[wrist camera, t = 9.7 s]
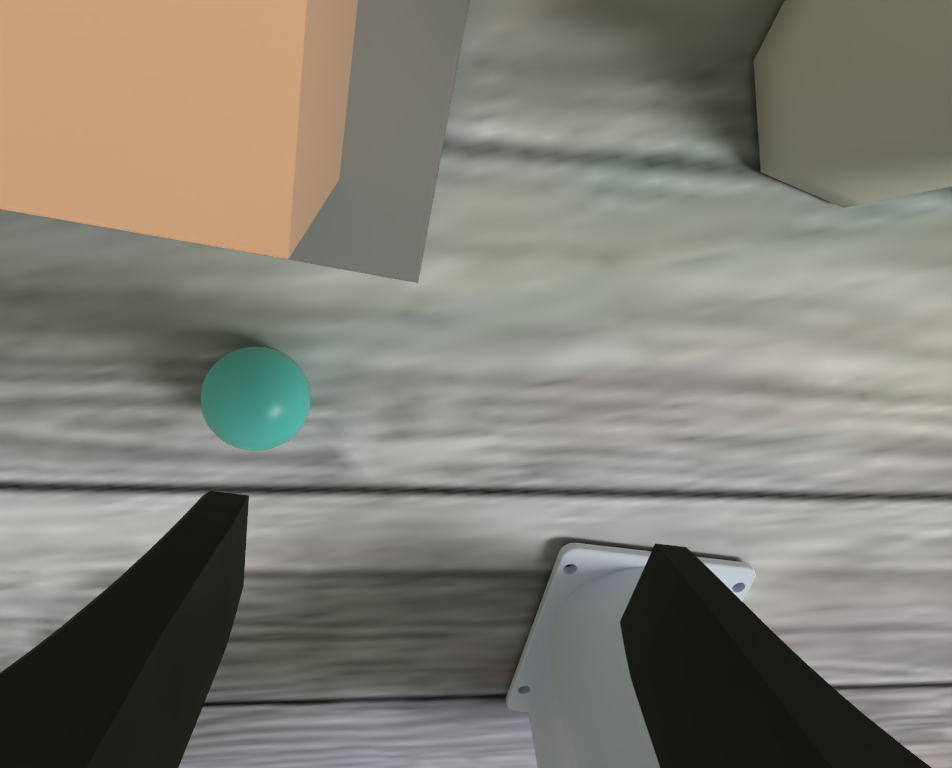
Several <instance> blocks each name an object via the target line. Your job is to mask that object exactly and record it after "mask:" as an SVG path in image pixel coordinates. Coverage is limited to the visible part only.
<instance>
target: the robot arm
mask: <svg viewBox="0 0 952 768" xmlns="http://www.w3.org/2000/svg"><path fill="white" fill-rule="evenodd" d="M248 501H249V496H248V495H240V494H231V493H223V492H214V491H210V492H208V493H206V494H205V495H203V496H202V497H201V498H200V499H199V500H198V502H197V503H196V504H195V505H194V506H193V507H192V508H191V509H190V510H189V511H188V512H187V513H186V514H185V515H184V516H183V517H182V518H181V519H180V520H179V521H178V522H177V523H176V524H175V525H174V526H173V527H172V528H171V529H170V530H169V531H168V532H167V533H166V534H165V535H164V536H163V537H162V538H161V539H160V540H159V541H158V542H157V543H156V544H155V545H154V546H153V547H152V548H151V549H150V550H149V551H148V552H147V553H146V554H145V555H143V556H142V557H141V558H140V559H139V560H138V561H137V562H136V563H135V564H134V565H133V566H131V567H130V568H129V569H128V570H127V571H126V572H125V573H124V574H123V575H122V576H121V577H120V578H118V579H117V580H116V581H115V582H114V583H113V584H112V585H111V586H109V587H108V588H107V589H106V590H105V591H104V592H102V593H101V594H100V595H99V596H98V597H96V598H95V599H94V600H93V601H92V602H90V603H89V604H88V605H87V606H86V607H84V608H83V609H82V610H81V611H80V612H78V613H77V614H76V615H75V616H74V617H72V618H71V619H70V620H69V621H68V622H66V623H65V624H64V625H63V626H62V627H60V628H59V629H58V630H57V631H55V632H54V633H53V634H52V635H50V636H49V637H48V638H46V639H45V640H44V641H43V642H41V643H40V644H39V645H37V646H36V647H35V648H33V649H32V650H31V651H29V652H28V653H27V654H25V655H24V656H23V657H21V658H20V659H19V660H17V661H16V662H15V663H13V664H12V665H11V666H9V667H8V668H6V669H5V670H4V671H2V672H1V673H0V768H178V767H179V764H180V762H181V759H182V757H183V754H184V752H185V749H186V747H187V744H188V742H189V739H190V737H191V734H192V732H193V729H194V727H195V724H196V722H197V719H198V717H199V714H200V712H201V709H202V707H203V704H204V702H205V699H206V697H207V694H208V692H209V689H210V687H211V684H212V682H213V679H214V677H215V674H216V672H217V669H218V667H219V664H220V662H221V659H222V656H223V654H224V651H225V649H226V646H227V643H228V640H229V636H230V632H231V629H232V625H233V622H234V618H235V615H236V611H237V607H238V604H239V600H240V596H241V593H242V589H243V582H244V566H245V550H246V534H247V517H248ZM568 564H573V565H571V566H569V567H565V566H566V565H568ZM755 576H756V573H755V571H754V569H753V567H752V566H751V565H750V564H749V563H746V562H738V561H729V560H721V559H712V558H704V557H696V556H695V555H694V554H693V553H692V552H691V551H689V550H688V549H687V548H686V547H679V546H671V545H662V544H655V545H654V547H653V550H652V551H643V550H635V549H626V548H617V547H609V546H600V545H591V544H583V543H569V544H566V545H564V546H563V547H562V548H561V549H560V551H559V554H558V556H557V559H556V562H555V565H554V567H553V570H552V573H551V576H550V578H549V581H548V584H547V587H546V589H545V592H544V595H543V598H542V600H541V603H540V606H539V609H538V611H537V614H536V617H535V620H534V622H533V625H532V628H531V631H530V633H529V636H528V639H527V642H526V644H525V647H524V650H523V653H522V655H521V658H520V661H519V664H518V666H517V669H516V672H515V675H514V677H513V680H512V683H511V685H510V688H509V691H508V694H507V696H506V702H507V707H508V708H509V709H510V710H512V711H516V712H529V716H530V723H531V729H532V735H533V741H534V748H535V754H536V760H537V766H538V768H931V767H930V766H929V765H927V764H926V763H925V762H923V761H922V760H921V759H919V758H918V757H917V756H915V755H914V754H913V753H911V752H910V751H909V750H907V749H906V748H905V747H904V746H902V745H901V744H900V743H899V742H897V741H896V740H895V739H894V738H893V737H891V736H890V735H889V734H888V733H886V732H885V731H884V730H883V729H881V728H880V727H879V726H878V725H876V724H875V723H874V722H873V721H871V720H870V719H869V718H868V717H866V716H865V715H864V714H863V713H862V712H860V711H859V710H858V709H857V708H856V707H855V706H853V705H852V704H851V703H850V702H849V701H847V700H846V699H845V698H844V697H843V696H842V695H841V694H839V693H838V692H837V691H836V690H835V689H834V688H833V687H832V686H831V685H829V684H828V683H827V682H826V681H825V680H824V679H823V678H822V677H820V676H819V675H818V674H817V673H816V672H815V671H814V670H813V669H812V668H810V667H809V666H808V665H807V664H806V663H805V662H804V661H803V660H802V659H801V658H800V657H799V656H798V655H796V654H795V653H794V652H793V651H792V650H791V649H790V648H789V647H788V646H787V645H786V644H785V643H784V642H783V641H782V640H781V639H780V638H779V637H778V636H777V635H776V634H774V633H773V632H772V631H771V630H770V629H769V628H768V627H767V626H766V625H765V624H764V623H763V622H762V621H761V620H760V619H759V618H758V617H757V616H756V615H755V614H754V613H753V612H752V611H751V610H750V609H749V608H748V607H747V606H746V605H745V604H744V603H743V602H742V600H743V598H744V597H745V595H746V593H747V591H748V590H749V588H750V586H751V584H752V583H753V581H754V579H755Z"/></svg>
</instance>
